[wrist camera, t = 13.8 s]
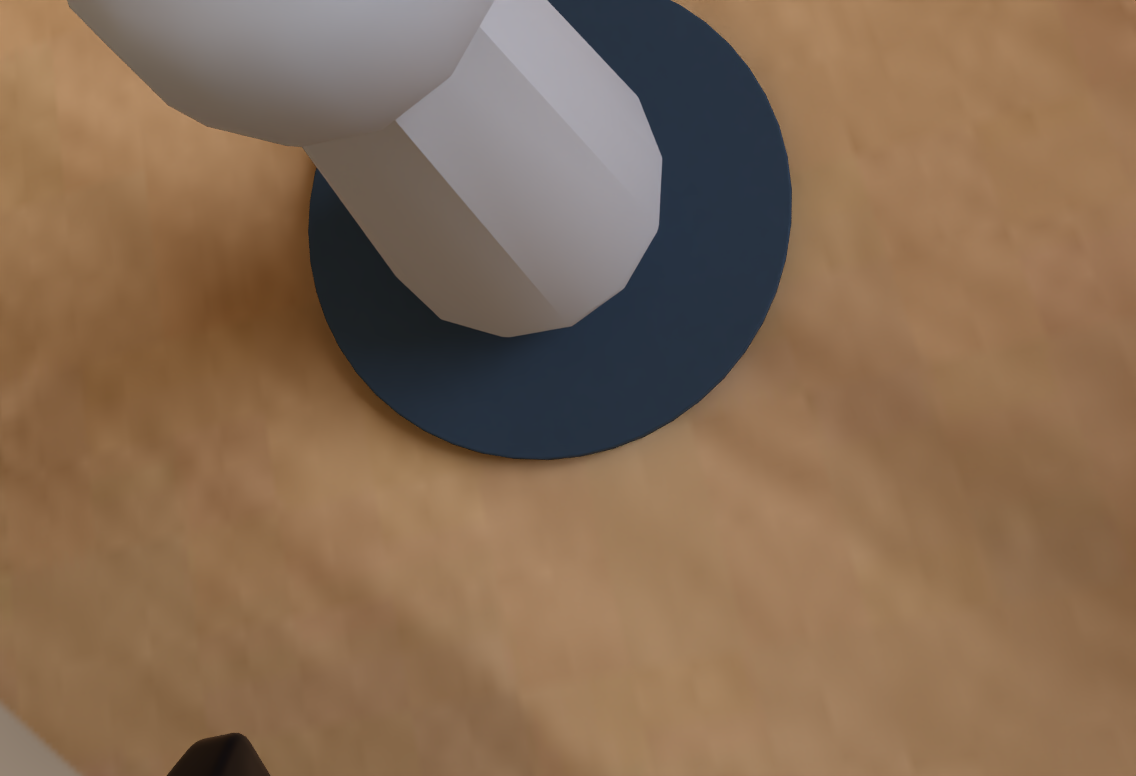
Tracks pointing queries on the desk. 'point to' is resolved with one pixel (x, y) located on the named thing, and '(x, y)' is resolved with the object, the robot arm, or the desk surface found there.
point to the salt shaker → (429, 135)
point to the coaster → (631, 317)
